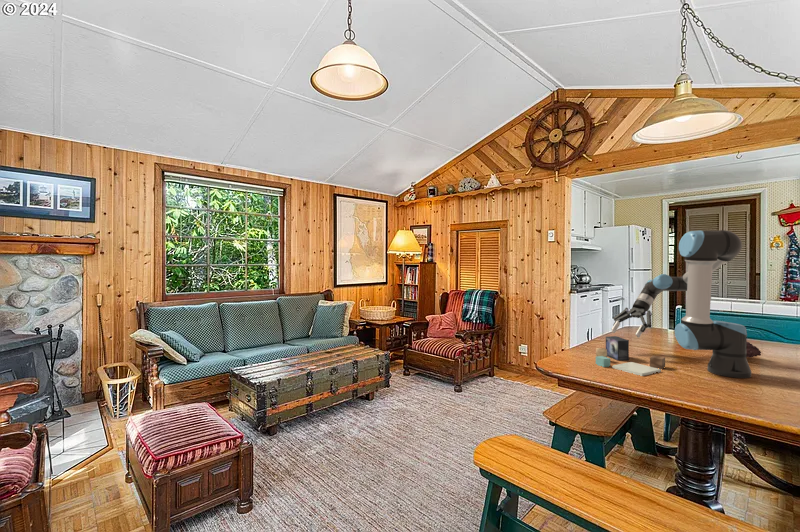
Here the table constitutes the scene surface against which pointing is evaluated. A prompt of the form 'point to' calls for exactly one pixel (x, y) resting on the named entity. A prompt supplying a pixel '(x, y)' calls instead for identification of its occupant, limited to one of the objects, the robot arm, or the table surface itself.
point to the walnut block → (657, 362)
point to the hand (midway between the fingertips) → (624, 333)
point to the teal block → (603, 361)
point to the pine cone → (752, 350)
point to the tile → (636, 368)
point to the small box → (617, 348)
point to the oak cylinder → (601, 352)
